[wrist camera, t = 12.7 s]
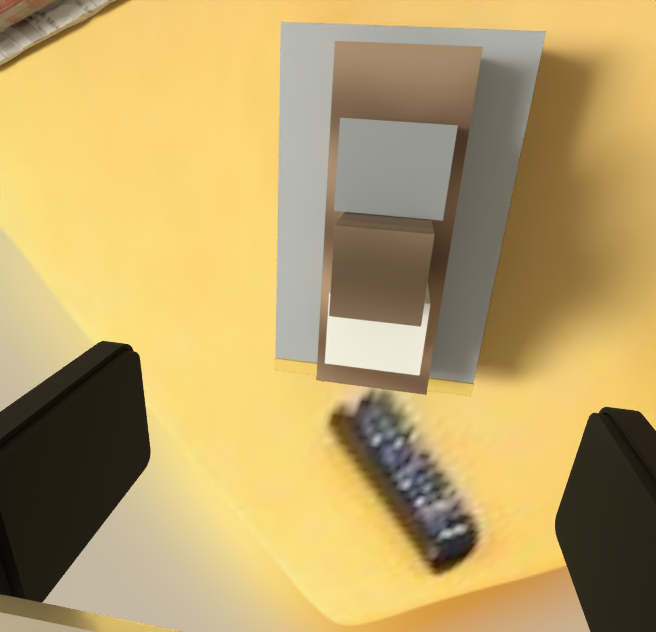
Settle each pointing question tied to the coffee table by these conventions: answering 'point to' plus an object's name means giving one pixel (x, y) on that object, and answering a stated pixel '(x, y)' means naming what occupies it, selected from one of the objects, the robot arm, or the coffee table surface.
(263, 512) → the coffee table surface
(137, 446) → the robot arm
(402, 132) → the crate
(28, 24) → the packaged product
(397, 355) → the block
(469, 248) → the dock
